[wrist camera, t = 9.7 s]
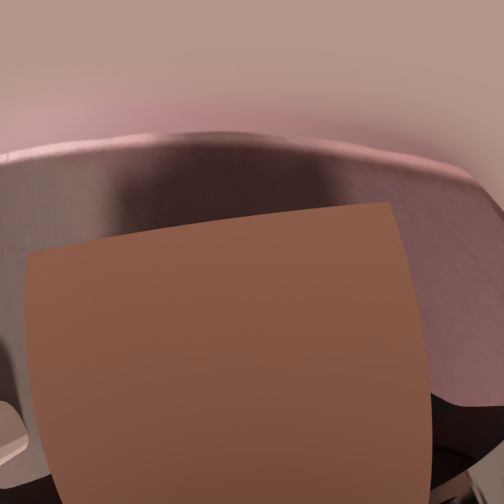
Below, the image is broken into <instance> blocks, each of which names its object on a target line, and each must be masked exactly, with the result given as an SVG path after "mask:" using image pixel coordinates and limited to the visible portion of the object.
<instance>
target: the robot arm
mask: <svg viewBox="0 0 504 504" xmlns="http://www.w3.org/2000/svg"><path fill="white" fill-rule="evenodd" d="M431 409H432V469H431V484H430V495H429V504H504V406H485V407H463V406H457V405H454V404H451V403H449V402H447V401H445V400H443V399H441V398H439V397H437V396H436V395H434V394H432V393H431ZM0 504H63V503H62V501H61V498H60V496H59V493H58V491H57V488H56V485H55V483H54V480H53V477H52V474H49V475H48V476H45V477H43V478H40V479H37V480H34V481H31V482H28V483H25V484H22V485H19V486H16V487H13V488H8V489H0Z"/></svg>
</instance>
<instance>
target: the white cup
mask: <svg viewBox="0 0 504 504" xmlns="http://www.w3.org/2000/svg"><path fill="white" fill-rule="evenodd" d="M27 445H28V434H27V431H26V428H25V425H24V423H23V421H22V419H21V417H20V415H19V414H18V413H17V411H16V410H15V409H14V408H13V406H11V405H10V404H8V403H7V402H6V401H0V465H2V464H3V463H5V462H6V461H8V460H9V459H11V458H12V457H14V456H15V455H17V454H18V453H20V452H21V451H23V450H24V449H26V447H27Z"/></svg>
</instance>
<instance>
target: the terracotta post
mask: <svg viewBox="0 0 504 504" xmlns="http://www.w3.org/2000/svg"><path fill="white" fill-rule="evenodd" d="M25 333H26V351H27V362H28V372H29V380H30V387H31V394H32V400H33V405H34V411H35V416H36V420H37V425H38V429H39V433H40V437H41V441H42V445H43V449H44V452H45V456H46V459H47V462H48V465H49V468H50V471H51V474H52V477H53V480H54V483H55V485H56V488H57V491H58V493H59V496H60V498H61V501H62V503H63V504H429V495H430V484H431V469H432V409H431V393H430V381H429V371H428V363H427V355H426V348H425V341H424V335H423V329H422V323H421V317H420V312H419V307H418V302H417V297H416V293H415V288H414V284H413V280H412V276H411V272H410V268H409V264H408V260H407V256H406V253H405V249H404V246H403V242H402V239H401V236H400V232H399V229H398V226H397V223H396V220H395V217H394V214H393V211H392V208H391V205H390V202H377V203H366V204H355V205H344V206H334V207H324V208H314V209H305V210H296V211H287V212H278V213H270V214H262V215H254V216H246V217H238V218H231V219H223V220H216V221H209V222H202V223H195V224H188V225H181V226H175V227H168V228H162V229H155V230H149V231H143V232H137V233H131V234H125V235H119V236H113V237H108V238H102V239H96V240H91V241H86V242H80V243H75V244H70V245H65V246H59V247H54V248H49V249H44V250H40V251H35V252H30V253H28V260H27V272H26V290H25Z"/></svg>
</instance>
